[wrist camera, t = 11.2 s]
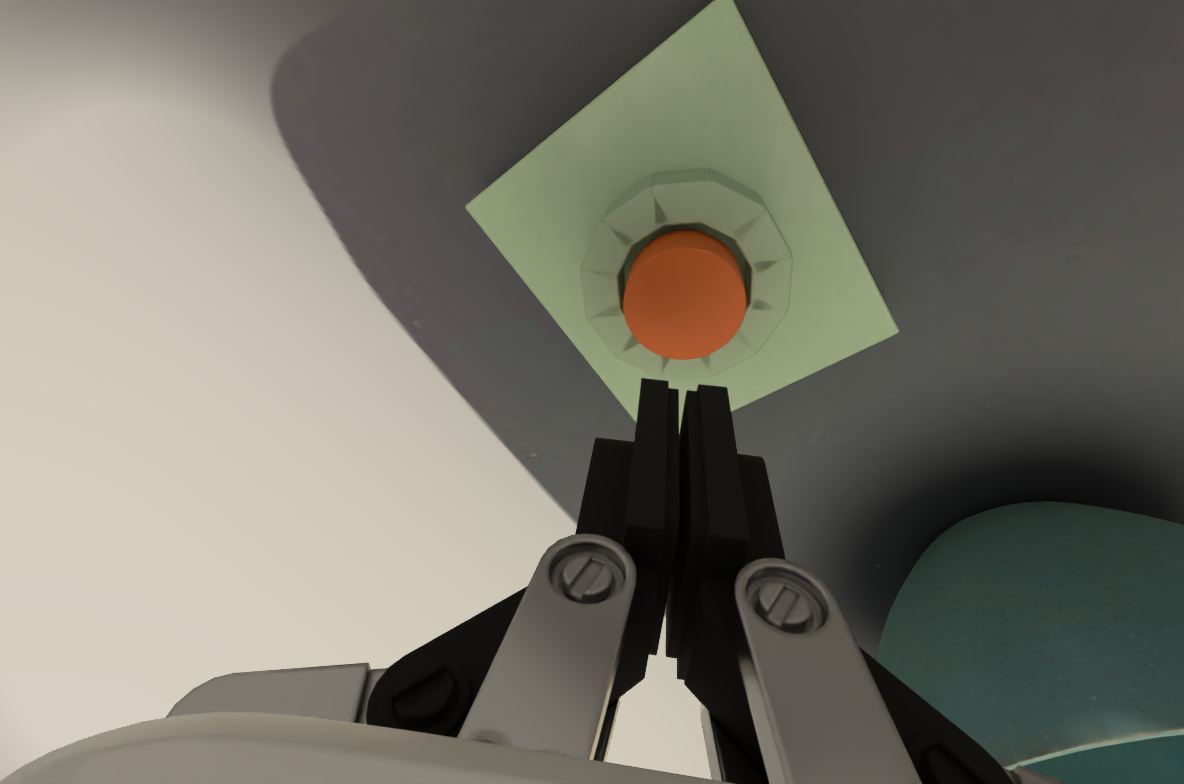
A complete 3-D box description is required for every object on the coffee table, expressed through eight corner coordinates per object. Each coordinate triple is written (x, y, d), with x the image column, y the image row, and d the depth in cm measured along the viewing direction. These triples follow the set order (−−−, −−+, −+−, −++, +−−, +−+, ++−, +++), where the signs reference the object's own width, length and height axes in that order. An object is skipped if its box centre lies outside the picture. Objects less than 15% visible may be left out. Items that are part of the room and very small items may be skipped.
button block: (483, 192, 21) (444, 221, 17) (722, -6, 16) (732, -18, 13) (657, 418, 25) (653, 476, 22) (881, 307, 21) (919, 358, 17)
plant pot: (946, 708, 33) (1064, 1004, 23) (738, 553, 29) (770, 836, 18) (1332, 577, 24) (1800, 962, 14) (1120, 322, 20) (1586, 619, 10)
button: (606, 270, 18) (599, 290, 16) (704, 205, 16) (706, 221, 15) (665, 353, 19) (664, 379, 18) (762, 300, 18) (769, 323, 16)
